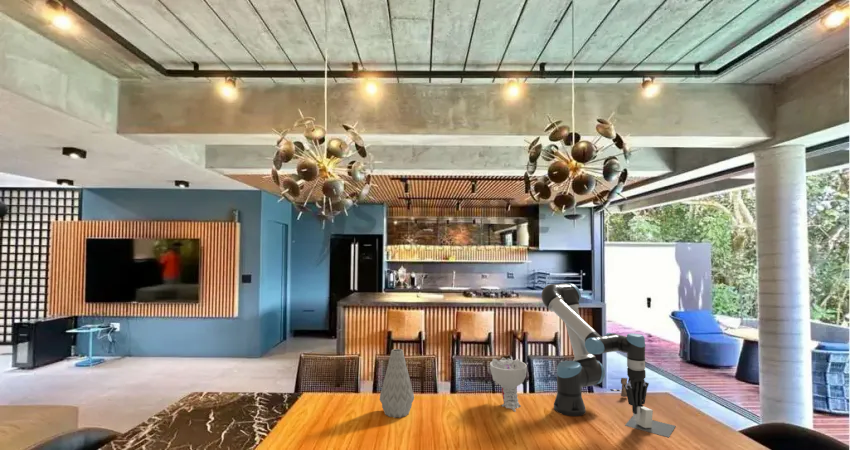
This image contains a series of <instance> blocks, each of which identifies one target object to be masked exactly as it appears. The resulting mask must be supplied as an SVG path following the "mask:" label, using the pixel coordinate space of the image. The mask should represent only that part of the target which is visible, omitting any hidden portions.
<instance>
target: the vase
mask: <svg viewBox="0 0 850 450" xmlns="http://www.w3.org/2000/svg"><path fill="white" fill-rule="evenodd" d="M414 400H415V395H414V390H413V386H412V383H411V378H410V374H409V371H408V367H407V361H406V359H405V354H404V350H403V349H401V348H400V349H399V348H395V349H394V348H393V349H391V350H390V355H389V359H388V364H387V368H386V372H385V374H384V380H383V384H382V388H381V391H380V393H379V401H380V403H381V407H382V410H383V412H384V415H385V416H387V417H389V418H394V419H395V418H400V419H401V418H403V417H406V416H407V415H409V414H410V411H411V409H412V405H413V404H412V403H413V401H414Z"/></svg>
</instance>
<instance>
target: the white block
mask: <svg viewBox="0 0 850 450" xmlns="http://www.w3.org/2000/svg"><path fill="white" fill-rule="evenodd" d="M653 411H654V410H653V409H651V408H648V407H646V406H644V405H643V407H641V413H640V416H641V421H639V422H638V421H636V424H637V425H639V426H641V427H643V428H652V420H653Z"/></svg>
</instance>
